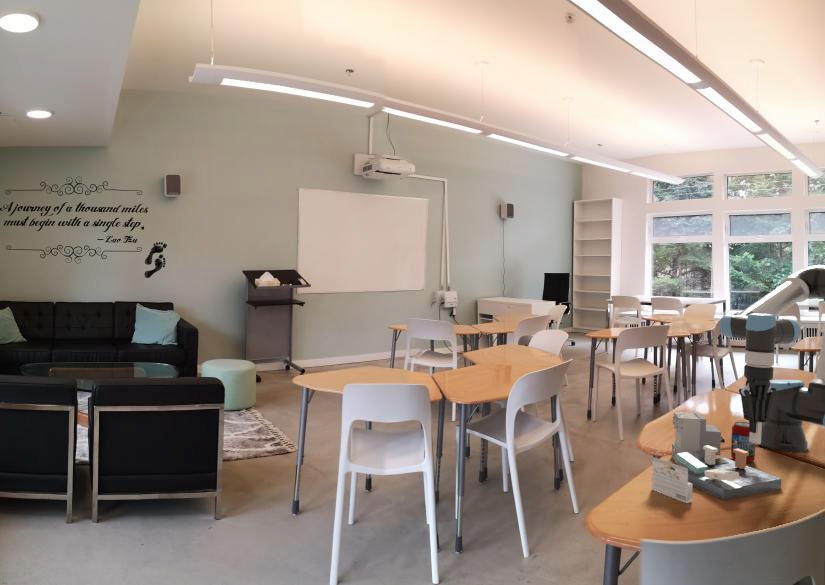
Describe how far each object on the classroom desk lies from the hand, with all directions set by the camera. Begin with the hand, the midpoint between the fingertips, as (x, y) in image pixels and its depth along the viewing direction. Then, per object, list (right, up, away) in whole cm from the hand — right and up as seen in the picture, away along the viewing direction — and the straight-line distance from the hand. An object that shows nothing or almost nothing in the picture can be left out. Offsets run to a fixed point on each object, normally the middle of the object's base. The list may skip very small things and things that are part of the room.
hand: (754, 442), depth 176 cm
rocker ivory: (-17, -6, -12) cm, 22 cm away
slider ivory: (-13, -7, +1) cm, 15 cm away
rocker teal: (-20, -5, -3) cm, 21 cm away
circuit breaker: (-11, -10, +13) cm, 20 cm away
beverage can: (+5, -10, +15) cm, 18 cm away
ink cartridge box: (-31, -11, -14) cm, 36 cm away
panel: (-12, -11, -4) cm, 16 cm away
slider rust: (-5, -7, -2) cm, 9 cm away
